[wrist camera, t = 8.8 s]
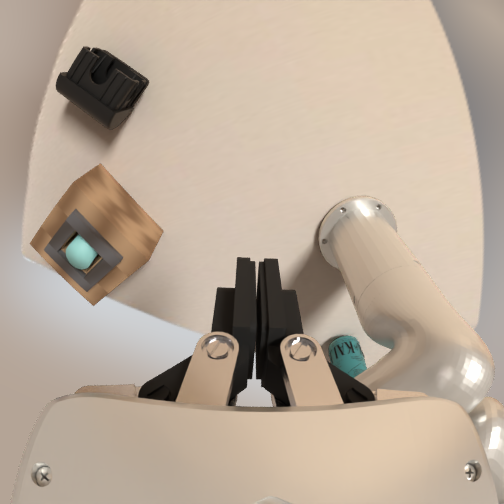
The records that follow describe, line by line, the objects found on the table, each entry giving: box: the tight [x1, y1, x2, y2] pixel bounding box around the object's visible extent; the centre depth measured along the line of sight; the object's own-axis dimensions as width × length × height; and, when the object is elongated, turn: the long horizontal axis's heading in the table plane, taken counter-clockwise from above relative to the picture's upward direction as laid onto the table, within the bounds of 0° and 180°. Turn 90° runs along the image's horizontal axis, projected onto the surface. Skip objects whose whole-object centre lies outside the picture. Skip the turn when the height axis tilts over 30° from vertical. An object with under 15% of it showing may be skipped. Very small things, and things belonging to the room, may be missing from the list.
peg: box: [66, 234, 98, 269], centre depth 39 cm, size 4×4×9 cm
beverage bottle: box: [328, 336, 367, 378], centre depth 48 cm, size 6×7×20 cm
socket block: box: [30, 164, 163, 306], centre depth 40 cm, size 14×14×9 cm
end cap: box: [56, 47, 149, 130], centre depth 30 cm, size 10×7×7 cm
